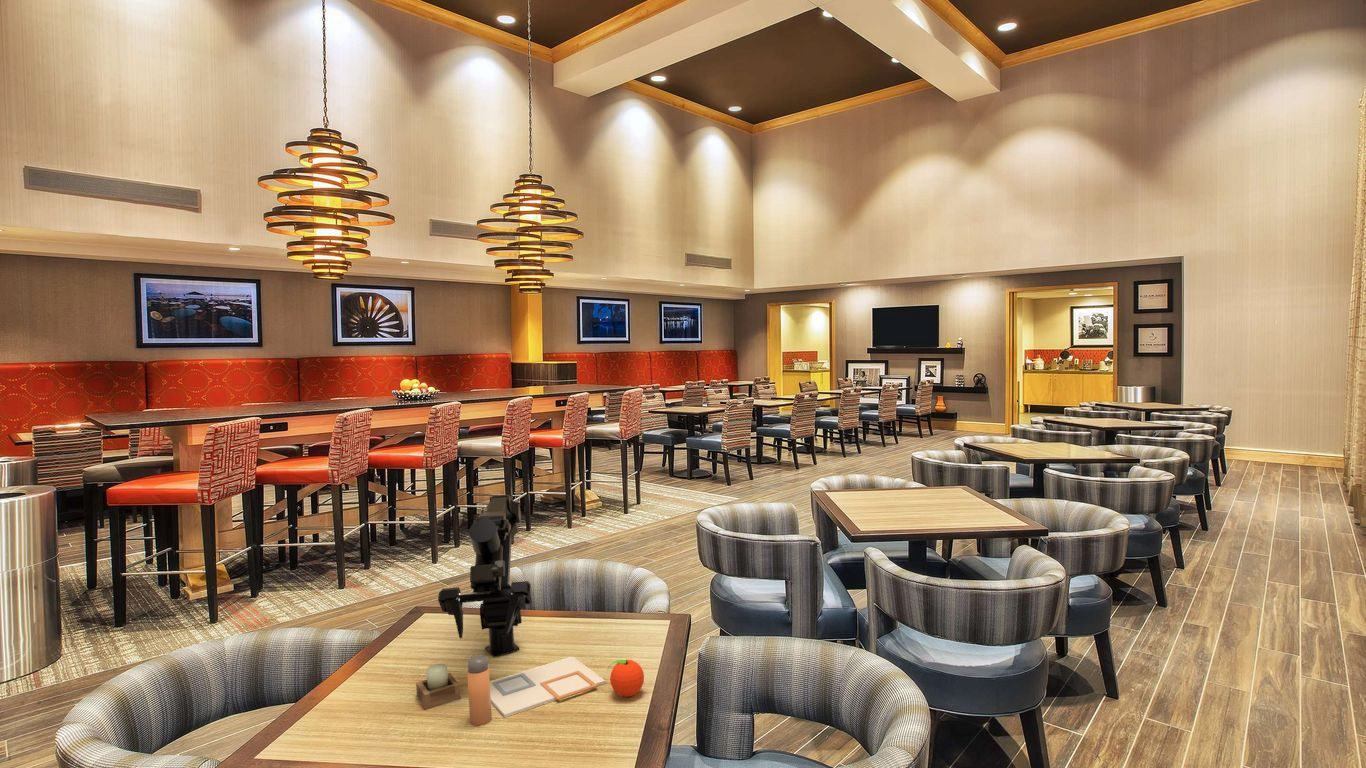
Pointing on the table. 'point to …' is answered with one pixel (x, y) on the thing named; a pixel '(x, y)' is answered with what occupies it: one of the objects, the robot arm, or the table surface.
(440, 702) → the button base
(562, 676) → the picture sheet
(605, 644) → the table surface
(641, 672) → the clementine
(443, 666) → the button
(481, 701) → the marker
